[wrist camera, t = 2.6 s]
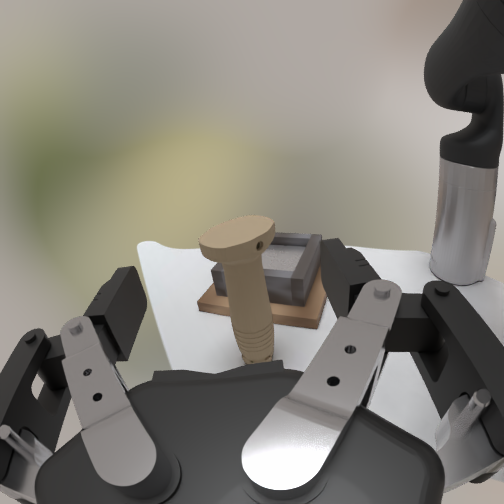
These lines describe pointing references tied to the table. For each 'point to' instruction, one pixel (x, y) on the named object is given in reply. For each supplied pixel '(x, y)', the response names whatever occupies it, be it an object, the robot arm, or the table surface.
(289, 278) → the socket base
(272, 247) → the mottled stone tile
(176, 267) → the table surface
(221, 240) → the handle
